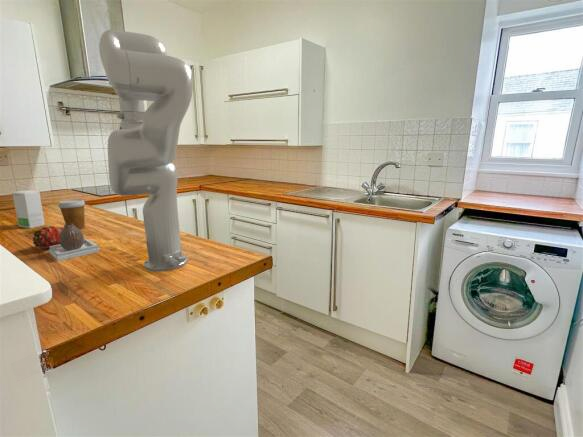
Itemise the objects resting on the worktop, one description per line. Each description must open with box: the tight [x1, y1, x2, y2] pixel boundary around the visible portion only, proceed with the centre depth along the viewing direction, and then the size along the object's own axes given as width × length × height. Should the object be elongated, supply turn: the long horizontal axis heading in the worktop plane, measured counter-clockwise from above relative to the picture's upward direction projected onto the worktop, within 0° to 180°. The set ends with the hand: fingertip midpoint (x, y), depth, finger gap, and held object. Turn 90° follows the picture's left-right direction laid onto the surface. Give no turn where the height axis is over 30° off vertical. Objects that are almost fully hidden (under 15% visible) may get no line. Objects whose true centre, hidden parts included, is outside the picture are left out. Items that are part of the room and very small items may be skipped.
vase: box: [59, 223, 85, 251], centre depth 108 cm, size 7×7×9 cm
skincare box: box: [12, 189, 46, 229], centre depth 142 cm, size 8×7×16 cm
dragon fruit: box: [32, 225, 62, 251], centre depth 114 cm, size 8×8×12 cm
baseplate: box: [48, 238, 101, 262], centre depth 109 cm, size 12×12×2 cm
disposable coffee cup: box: [57, 198, 86, 230], centre depth 138 cm, size 10×10×12 cm
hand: (140, 168), depth 113 cm, fingers open, 9 cm apart
